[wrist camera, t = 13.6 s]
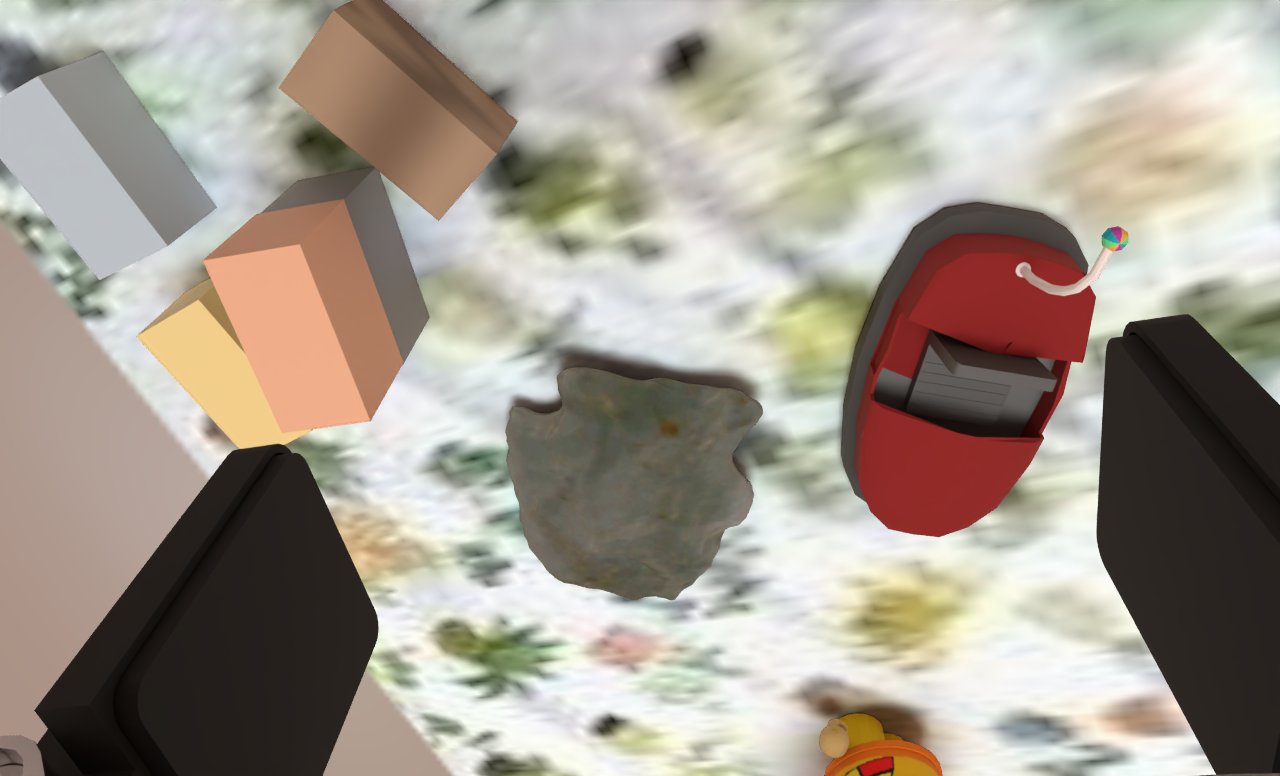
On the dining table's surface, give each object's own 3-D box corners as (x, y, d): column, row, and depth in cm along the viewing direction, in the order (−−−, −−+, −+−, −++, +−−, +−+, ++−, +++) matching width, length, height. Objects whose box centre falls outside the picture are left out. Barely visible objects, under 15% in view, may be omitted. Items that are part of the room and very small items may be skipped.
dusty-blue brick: (40, 88, 43) (-33, 117, 39) (105, 50, 42) (37, 76, 38) (154, 238, 47) (99, 280, 42) (217, 206, 46) (167, 246, 41)
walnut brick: (322, 61, 42) (278, 87, 37) (373, -10, 40) (333, 9, 36) (464, 182, 44) (438, 220, 40) (518, 121, 43) (496, 153, 38)
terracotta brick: (256, 214, 40) (202, 260, 36) (343, 198, 40) (299, 244, 35) (323, 374, 44) (282, 433, 40) (403, 362, 44) (370, 421, 39)
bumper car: (810, 484, 52) (831, 614, 44) (920, 128, 42) (976, 207, 33) (984, 512, 52) (1039, 647, 44) (1136, 164, 42) (1247, 252, 33)
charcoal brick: (298, 180, 45) (255, 218, 40) (377, 165, 44) (341, 202, 40) (356, 328, 49) (322, 377, 44) (429, 316, 48) (402, 365, 44)
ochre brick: (186, 290, 48) (136, 336, 44) (244, 256, 47) (198, 299, 43) (288, 408, 51) (251, 461, 47) (345, 379, 50) (312, 430, 46)
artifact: (524, 326, 49) (496, 545, 56) (507, 363, 45) (480, 590, 53) (782, 379, 49) (719, 591, 56) (785, 420, 45) (717, 639, 53)
